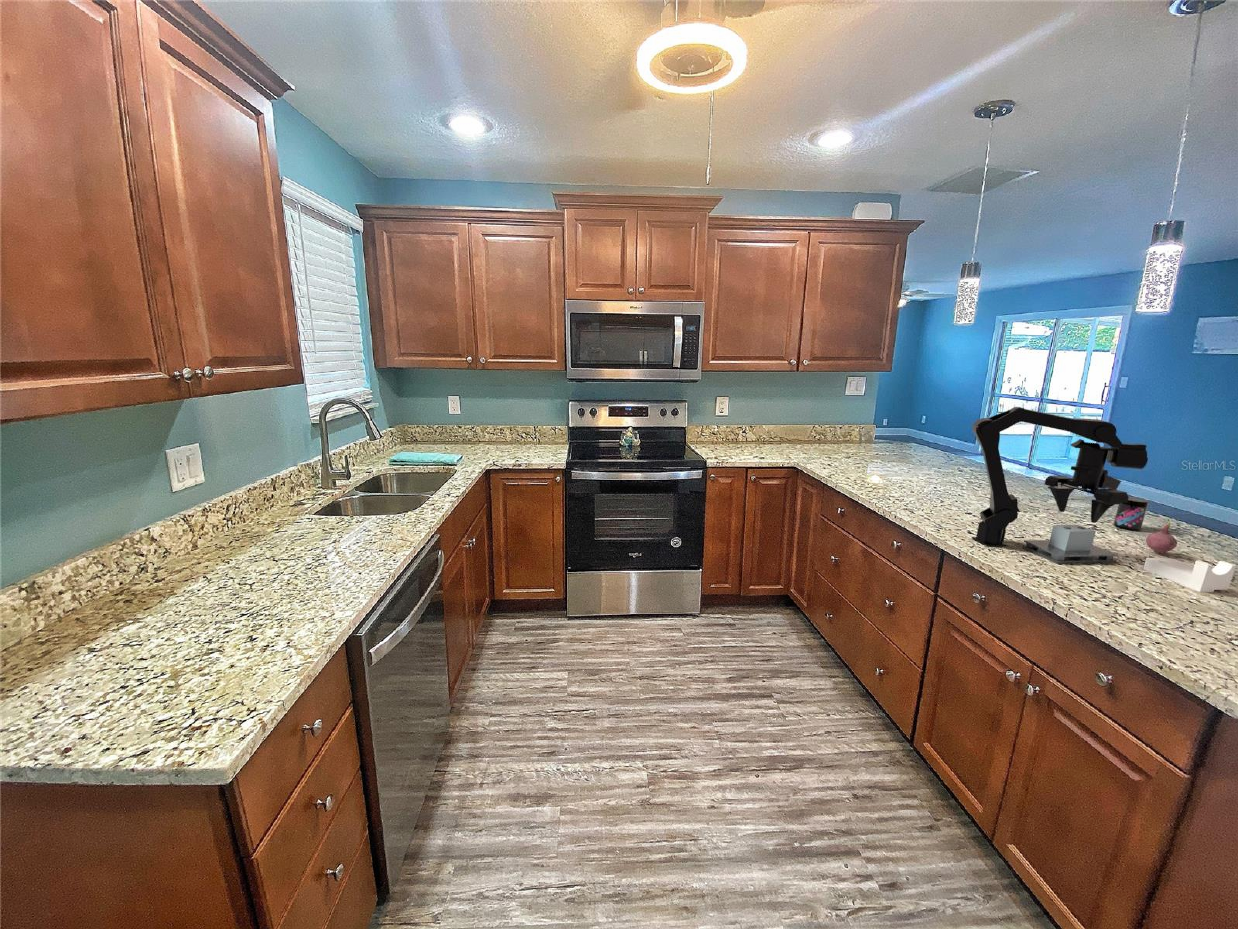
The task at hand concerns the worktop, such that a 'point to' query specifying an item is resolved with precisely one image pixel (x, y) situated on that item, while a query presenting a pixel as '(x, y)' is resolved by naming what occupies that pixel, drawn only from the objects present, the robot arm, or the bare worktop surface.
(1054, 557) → the stand
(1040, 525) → the worktop surface
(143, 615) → the worktop surface
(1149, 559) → the bracket
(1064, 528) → the housing
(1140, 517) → the supplement container
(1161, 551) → the vegetable
